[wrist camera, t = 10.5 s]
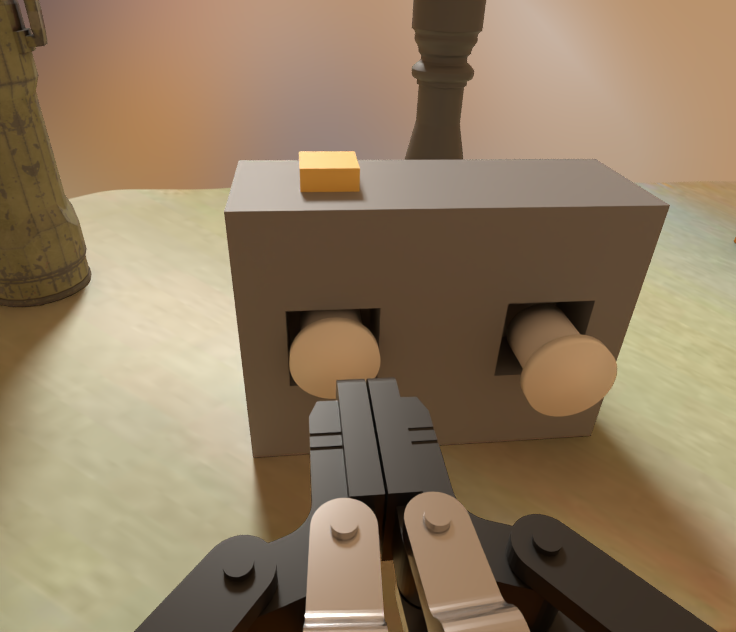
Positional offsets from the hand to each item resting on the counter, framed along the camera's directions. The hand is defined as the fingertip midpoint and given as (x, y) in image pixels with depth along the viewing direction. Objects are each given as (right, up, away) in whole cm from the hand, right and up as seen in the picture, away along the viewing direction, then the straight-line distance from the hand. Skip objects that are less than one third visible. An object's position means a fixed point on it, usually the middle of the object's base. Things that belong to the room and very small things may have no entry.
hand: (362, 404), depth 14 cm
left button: (-2, -1, +18) cm, 18 cm away
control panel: (+4, -4, +24) cm, 25 cm away
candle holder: (+6, +7, +41) cm, 42 cm away
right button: (+10, -2, +17) cm, 20 cm away
